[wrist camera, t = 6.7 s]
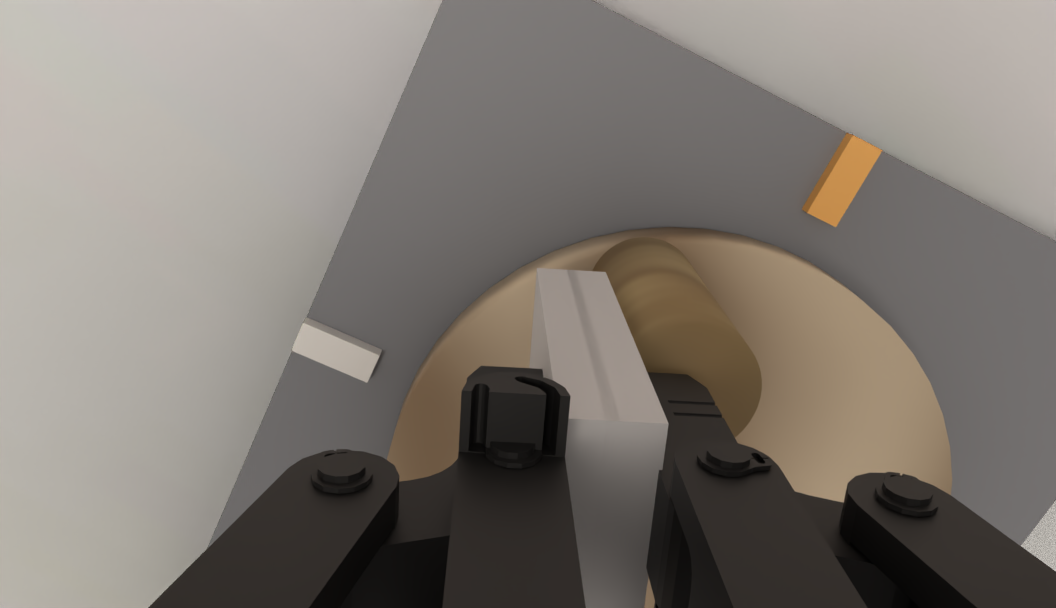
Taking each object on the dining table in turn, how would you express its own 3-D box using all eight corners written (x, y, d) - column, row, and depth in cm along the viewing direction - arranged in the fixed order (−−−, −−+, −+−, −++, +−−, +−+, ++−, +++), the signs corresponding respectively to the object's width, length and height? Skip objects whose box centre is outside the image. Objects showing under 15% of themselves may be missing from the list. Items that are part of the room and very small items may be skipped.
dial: (441, 730, 25) (416, 985, 19) (336, 265, 21) (253, 384, 14) (924, 666, 25) (1074, 905, 18) (924, 178, 20) (1123, 259, 14)
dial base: (769, 814, 29) (787, 868, 27) (189, 599, 26) (164, 644, 24) (1155, 296, 23) (1209, 320, 21) (473, -59, 20) (469, -65, 18)
